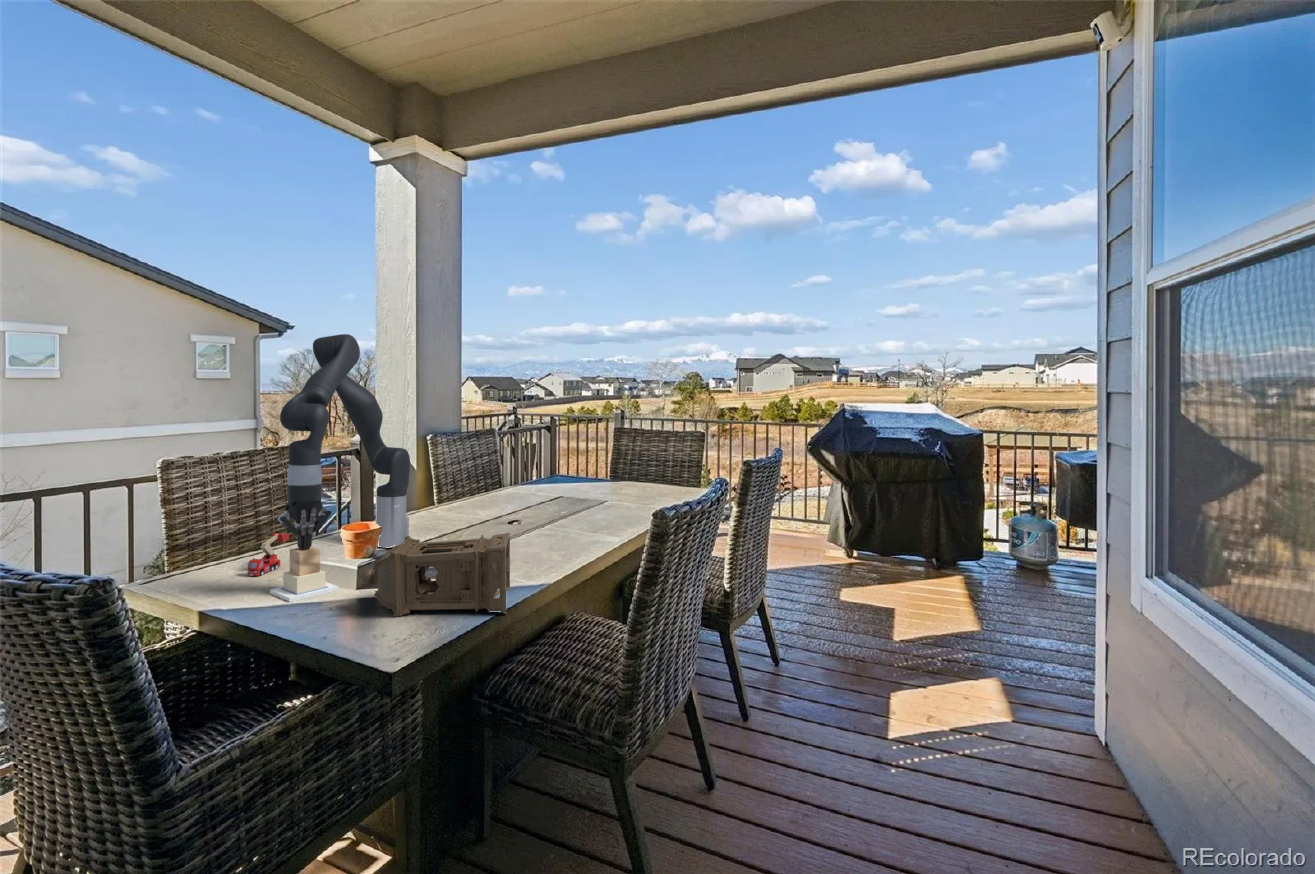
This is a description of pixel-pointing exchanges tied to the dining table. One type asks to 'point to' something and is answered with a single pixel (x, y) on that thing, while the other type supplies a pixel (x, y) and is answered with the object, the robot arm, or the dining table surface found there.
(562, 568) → the dining table surface
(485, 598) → the brown stone lantern
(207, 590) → the dining table surface
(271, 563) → the toy fire truck
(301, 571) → the oak block
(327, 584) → the board
